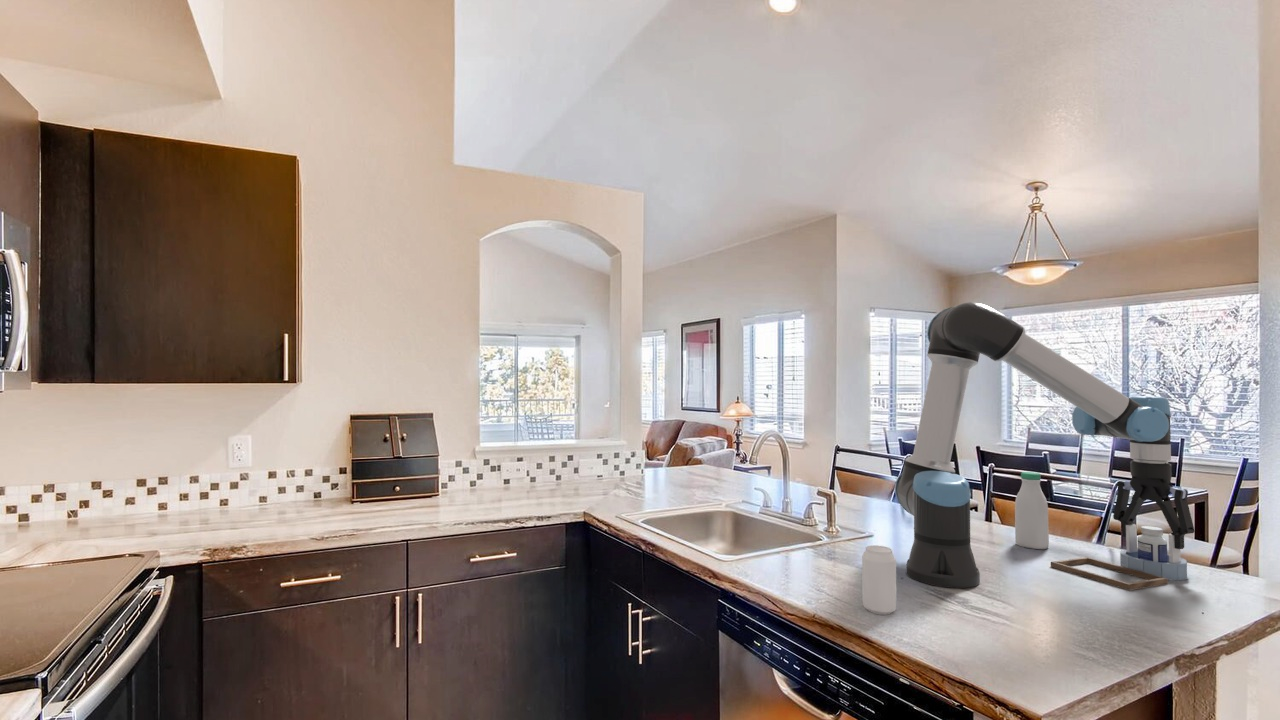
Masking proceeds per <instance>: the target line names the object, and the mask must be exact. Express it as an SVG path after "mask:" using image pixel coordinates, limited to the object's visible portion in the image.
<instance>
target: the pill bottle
mask: <svg viewBox="0 0 1280 720" xmlns="http://www.w3.org/2000/svg"><path fill="white" fill-rule="evenodd" d="M1140 532H1141V534H1140V535H1137V550H1138V559H1142V560H1147V561H1154V562H1162V563H1167V554H1168V542H1167V539H1165V538H1164V537H1162V536H1163V535H1164V531H1163V528H1160V527H1156V526H1150V525H1149V526H1148V525H1143V526H1140Z"/></svg>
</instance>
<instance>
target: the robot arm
mask: <svg viewBox="0 0 1280 720" xmlns="http://www.w3.org/2000/svg"><path fill="white" fill-rule="evenodd" d="M926 331H927V333H926V337H927V339H928V343H929V345H928V350H927V354H926V356H927V357H928V359H929V360H930V361H931V366H930V373H929V377H928V381H927V385H926V389H925V390H926V391H925V395H924V401H923V406H922V409H921V410H922V411H921V415H920V420H919V424H918V430H917V435H916V439H915V445H914V447H913V453H912V454H911V455H910V456H908V457H907V458H905V459H904V464H903V469H902V472H901V473H900V474H899V475H898V477H897V479H896V480H895V484H894V494H895V497H896V499H897V501H898V504H900V506H901V507H902V509H903V510H905V511H906V513H908V514H910V515H911V516H913V543H912V547H911V549H910V553H909V558H908V559H907V561H906V565H905V567H906V569H905V570H906V571H905V572H906V575H907V576H908V577H910V578H911V579H912V580H915V581H918V582H920V583H924V584H928V585H932V586H937V587H943V588H953V589H954V588H955V589H957V588H958V589H960V588H961V589H962V588H963V589H965V588H973V587H977V586H978V585H979V584H981V583H980V582H981V576H980V575H981V573H980V571H979V568H978V567H977V564H976V560H975V557H974V553H973V550H972V546H971V497H972V495H971V490H970V483H969V481H968V480H967V479H966V478H965V477H963V476H962V475H959V474H957V473H956V470H955V469H954V467H953V465H952V464H951V459H952V455H953V449H954V444H955V441H956V436H957V431H958V427H959V421H960V416H961V411H962V407H963V402H964V397H965V392H966V387H967V383H968V378H969V373H970V370H971V369H972V368H974V366H977V365H978V363H979V358H980V355H984V356H985V357H987V358H989V359H990V360H993V361H994V362H1005V364H1007V365H1008V366H1011V367H1012V368H1014V369H1015V370H1017V371H1019V372H1021V373H1022V374H1024V375H1025V376H1026V377H1028V378H1030V379H1032V380H1033V381H1035V382H1036V383H1038V384H1039V385H1041V386H1043V387H1045V388H1046V389H1047V390H1049V391H1051V392H1052V393H1054V394H1056V395H1057V396H1059V397H1060V398H1062V399H1064V400H1065V401H1066V402H1069V404H1072V405H1073V406H1075V407H1074V409H1073V412H1072V415H1071V416H1072V417H1071V419H1072V426H1073V428H1074V431H1076V433H1078V434H1080V435H1083V436H1092V437H1094V436H1103V437H1111V438H1118V439H1125V440H1129V454H1130V455H1129V458H1130V459H1132V460H1131V461H1130V476H1131V479H1130V481H1129V480H1118V481H1117V482H1116V485H1117V490H1118V491H1117V494H1116V495H1117V496H1116V501H1115V506H1114V511H1113V516H1112V517H1113V520H1115V521H1118V522H1120V523H1121V524H1122V526H1121V527H1122V537H1124V538H1125V542H1126V543H1125V545H1126V546H1125V548H1126V549H1125V550H1126V552H1129V553H1132V552H1137V550H1138V535H1137V533H1138V530H1137V527H1138V525H1137V524H1135V519H1136V517H1137V515H1138V513H1139V512H1140V510H1141V508H1142V506H1143V504H1144V503H1145V502H1146V501H1151V502H1155V503H1156V505H1157V506H1158V507H1159V508H1160V510H1161V512H1162V514H1163V516H1164V518H1165V520H1166V522H1167V524H1168V526H1169V528H1170V530H1171V532H1170V533H1168V554H1169V562H1170V563H1177V562H1181V558H1182V557H1181V550H1184V548H1185V536H1186V535H1188V534H1194V533H1195V527H1194V523H1193V518H1192V514H1191V510H1190V508H1189V504H1188V502H1189V501H1188V494H1189V491H1188V490H1187V489H1186V488H1182V489H1181V488H1177V487H1174V486H1173V484H1172V481H1171V480H1172V478H1173V477H1172V464H1171V463H1170V461H1172V447H1171V446H1172V445H1171V435H1172V434H1171V418H1172V414H1171V406H1170V401H1169V399H1168V398H1167V397H1164V396H1148V395H1147V396H1143V395H1142V396H1139V395H1138V396H1137V395H1136V396H1130V397H1129V396H1127V395H1125V394H1124V393H1122V392H1120V391H1118V390H1117V389H1116V388H1114V387H1112V386H1110V385H1109V384H1107V383H1106V382H1104V381H1103V380H1101V379H1099V378H1097V377H1096V376H1094V374H1093V375H1092V374H1091V373H1090V372H1088V371H1086V370H1085V369H1083V368H1081V367H1080V366H1078V365H1076V364H1075V363H1073V362H1072V361H1070V360H1069V359H1067V358H1066V357H1064V356H1062V355H1060V354H1059V353H1057V352H1056V351H1054V350H1052V349H1051V348H1049V347H1047V345H1044V344H1042V343H1041V342H1040V341H1038V340H1036V339H1035V338H1033V337H1031V336H1030V335H1028V334H1027V333H1026V329H1025V327H1024V326H1022V325H1021V324H1019V323H1018V322H1016V321H1014V320H1013V319H1012V318H1010V317H1008V316H1006V315H1005V314H1004V313H1002V312H1000V311H998V310H996V309H995V308H992V306H991V307H990V306H988V305H986V304H983V303H980V302H971V301H969V302H963V303H960V304H957V305H956V306H951V307H948V308H945V309H943V310H941V311H940V312H938V313H936V314H935V316H934V317H933V318H932V319H931V320H930V322H929V324H928V327H927V330H926ZM1131 489H1132V490H1134V493H1133V495H1132V496H1131V501H1130V503H1129V500H1130V495H1131ZM1170 494H1172V495H1171V496H1172V497H1173V501H1174V505H1175V506H1174V507H1175V508H1174V507H1173V502H1172V500H1171V497H1170ZM1128 503H1129V504H1128Z"/></svg>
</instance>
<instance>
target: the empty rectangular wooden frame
mask: <svg viewBox="0 0 1280 720" xmlns="http://www.w3.org/2000/svg"><path fill="white" fill-rule="evenodd" d="M1084 564H1090V565H1094V566H1097V567H1101V568H1105V569H1108V570H1112V571H1116V572H1119V573H1123V574H1126V575H1131V576H1133V577H1137V578H1141V579H1144V580H1139V581H1133V582H1125V581H1121V580H1118V579H1115V578H1111V577H1108V576H1105V575H1102V574H1097V573H1094V572H1090V571H1087V570H1084V569H1080V568H1077V567H1073V566H1076V565H1084ZM1050 567H1051V568H1052V569H1053V568H1054V569H1057V570H1061V571H1063V572H1064V571H1065V572H1066V573H1071V574H1073V575H1077V576H1080V577H1083V578H1088V579H1091V580H1094V581H1097V582H1101V583H1105V584H1107V585H1112V586H1114V587H1118V588H1121V589H1124V590H1127V591H1132V590H1138V589H1145V588H1151V587H1156V586H1157V587H1158V586H1163V585H1164V586H1165V585H1168V580H1167V578H1164V577H1160V576H1156V575H1152V574H1149V573H1145V572H1141V571H1137V570H1134V569H1130V568H1126V567H1122V566H1121V565H1118V564H1114V563H1111V562H1106V561H1104V560H1103V561H1102V560H1100V559H1099V560H1098V559H1096V558H1092V557H1089V556H1088V557H1087V556H1084V557H1077V558H1069V559H1063V560H1060V559H1059V560H1054V561H1050Z"/></svg>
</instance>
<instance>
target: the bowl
mask: <svg viewBox="0 0 1280 720" xmlns="http://www.w3.org/2000/svg"><path fill="white" fill-rule="evenodd" d="M1119 557H1120V566H1122V567H1126V568H1130V569H1134V570H1137V571H1141V572H1145V573H1149V574H1152V575H1156V576H1160V577H1164V578H1167V581H1183V580H1188V562H1187V559H1186V558H1183V557H1181V562H1177V563H1170V562H1169V553H1167V563H1162V562H1154V561H1147V560H1142V559H1138V549H1137V552H1132V553H1129V552H1126V549H1124V550H1120V556H1119Z"/></svg>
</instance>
